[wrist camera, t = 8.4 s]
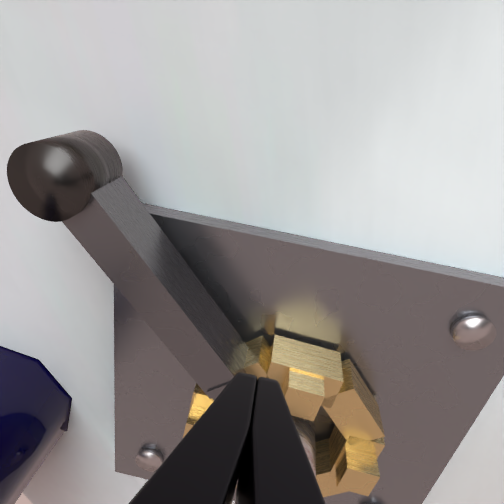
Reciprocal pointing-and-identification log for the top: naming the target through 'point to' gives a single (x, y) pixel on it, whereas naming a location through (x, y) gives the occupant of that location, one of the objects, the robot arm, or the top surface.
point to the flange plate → (324, 344)
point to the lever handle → (194, 304)
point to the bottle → (27, 420)
